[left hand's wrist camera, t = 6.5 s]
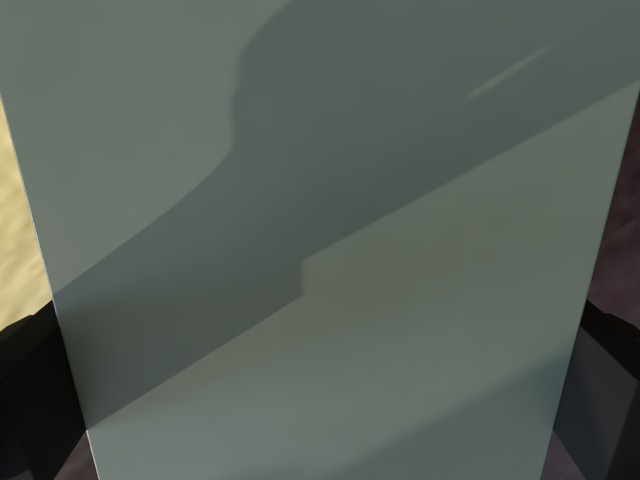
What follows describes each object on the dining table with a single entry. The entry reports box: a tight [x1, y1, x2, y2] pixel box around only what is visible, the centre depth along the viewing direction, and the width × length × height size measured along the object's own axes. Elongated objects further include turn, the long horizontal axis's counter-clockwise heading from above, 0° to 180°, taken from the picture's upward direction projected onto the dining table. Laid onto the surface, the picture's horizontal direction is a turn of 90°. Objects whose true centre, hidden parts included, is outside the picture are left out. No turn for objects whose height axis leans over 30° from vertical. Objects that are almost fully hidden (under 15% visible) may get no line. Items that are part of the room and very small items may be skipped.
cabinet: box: [0, 0, 640, 480], centre depth 11 cm, size 17×10×9 cm, turn 0°
